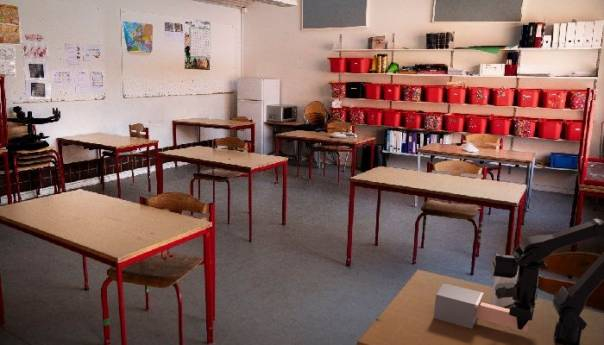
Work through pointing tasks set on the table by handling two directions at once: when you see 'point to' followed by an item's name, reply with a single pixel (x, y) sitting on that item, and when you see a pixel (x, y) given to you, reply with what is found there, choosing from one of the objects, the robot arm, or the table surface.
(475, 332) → the table surface
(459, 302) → the pale grey box
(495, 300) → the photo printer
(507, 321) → the pink rectangular block
